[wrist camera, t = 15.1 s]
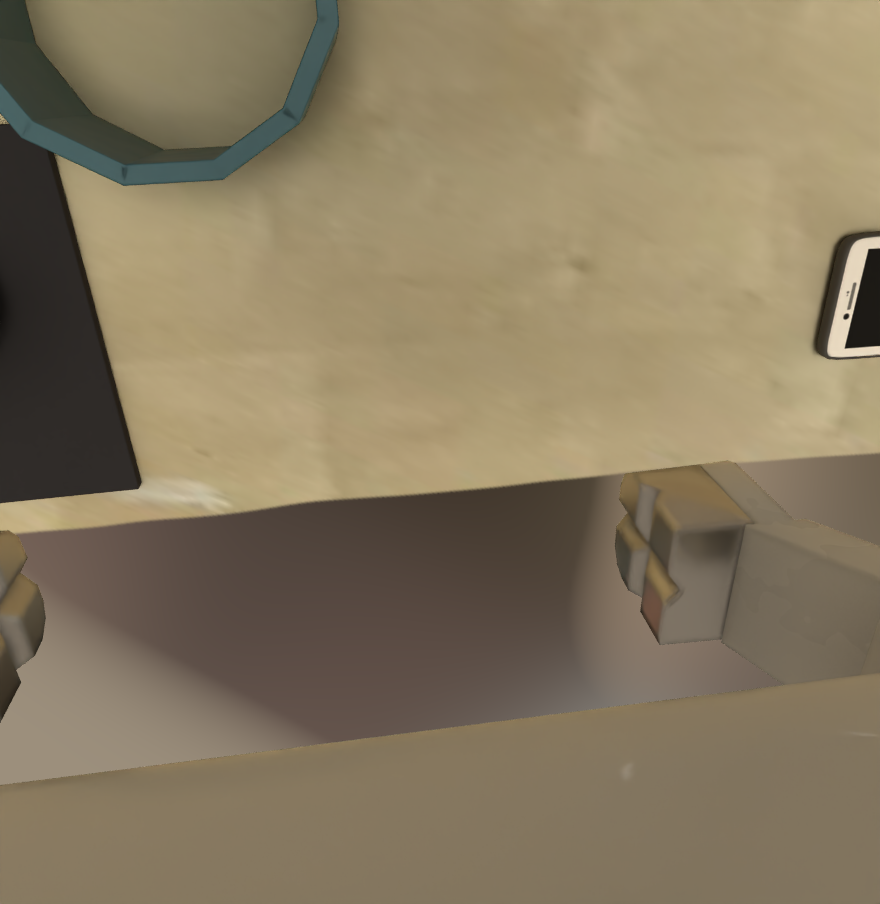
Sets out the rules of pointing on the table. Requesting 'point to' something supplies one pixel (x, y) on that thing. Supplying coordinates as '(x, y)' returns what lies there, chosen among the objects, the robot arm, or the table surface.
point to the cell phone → (853, 301)
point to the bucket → (115, 150)
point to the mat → (51, 346)
